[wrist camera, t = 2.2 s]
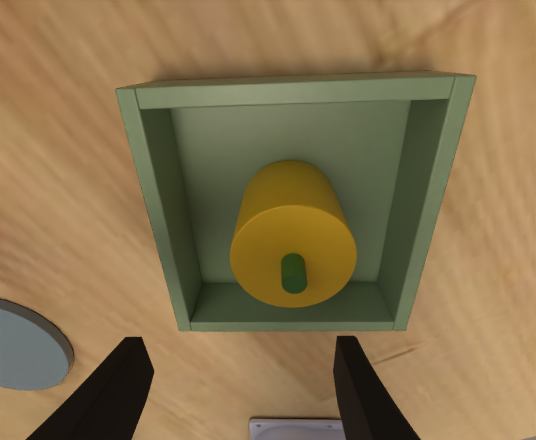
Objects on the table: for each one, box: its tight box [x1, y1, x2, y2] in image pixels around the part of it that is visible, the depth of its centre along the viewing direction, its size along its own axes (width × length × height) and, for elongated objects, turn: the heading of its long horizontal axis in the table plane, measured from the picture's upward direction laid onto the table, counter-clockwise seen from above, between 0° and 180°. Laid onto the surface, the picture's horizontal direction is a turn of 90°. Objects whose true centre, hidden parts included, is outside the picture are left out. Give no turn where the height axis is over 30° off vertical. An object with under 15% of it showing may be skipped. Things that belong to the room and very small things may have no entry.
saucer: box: [0, 299, 74, 391], centre depth 25 cm, size 11×11×1 cm
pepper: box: [230, 160, 357, 308], centre depth 14 cm, size 5×5×7 cm
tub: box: [115, 70, 477, 331], centre depth 16 cm, size 14×14×4 cm
